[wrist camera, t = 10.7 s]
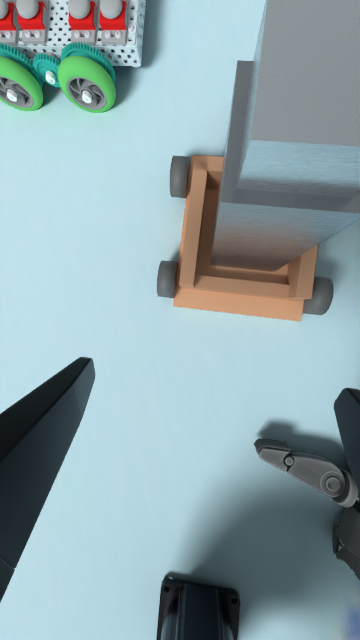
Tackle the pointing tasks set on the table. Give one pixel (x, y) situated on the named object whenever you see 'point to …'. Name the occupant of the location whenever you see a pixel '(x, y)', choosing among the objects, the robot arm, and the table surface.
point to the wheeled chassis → (223, 282)
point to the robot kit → (67, 49)
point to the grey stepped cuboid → (292, 137)
